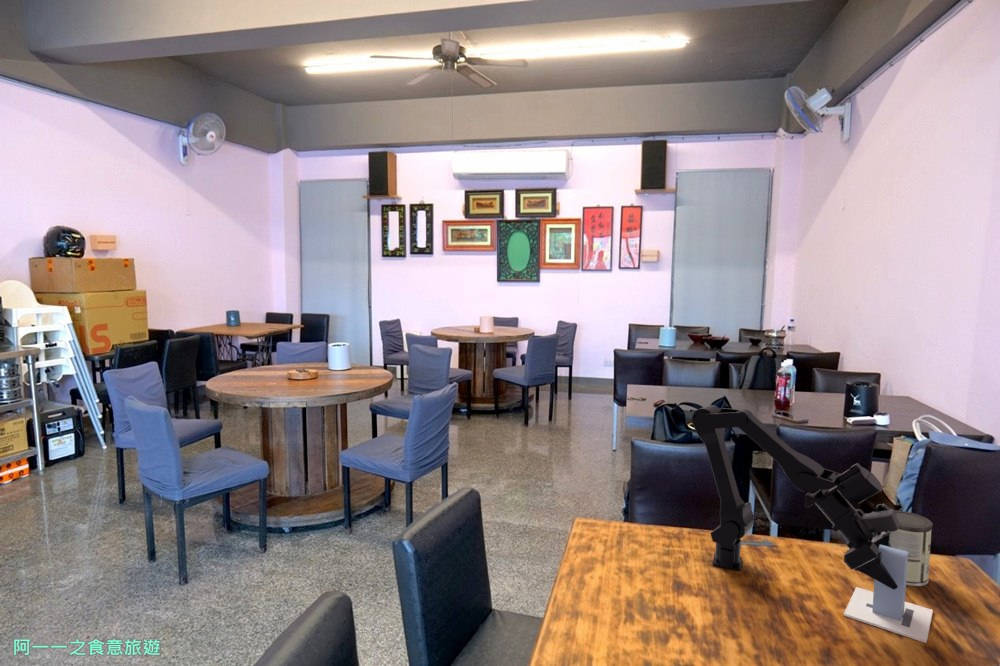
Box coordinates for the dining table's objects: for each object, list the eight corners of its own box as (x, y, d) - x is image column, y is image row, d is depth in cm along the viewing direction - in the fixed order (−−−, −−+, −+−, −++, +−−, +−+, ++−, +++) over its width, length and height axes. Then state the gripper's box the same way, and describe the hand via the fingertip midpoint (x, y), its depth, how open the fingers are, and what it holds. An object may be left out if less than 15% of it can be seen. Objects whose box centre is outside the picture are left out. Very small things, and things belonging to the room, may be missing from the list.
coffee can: (870, 562, 144) (874, 507, 143) (919, 568, 141) (923, 513, 139) (883, 582, 134) (887, 523, 133) (935, 590, 131) (940, 530, 130)
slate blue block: (872, 612, 121) (876, 552, 120) (876, 602, 125) (880, 544, 124) (901, 621, 118) (905, 560, 117) (904, 610, 122) (908, 551, 120)
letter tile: (843, 615, 121) (843, 613, 121) (856, 589, 131) (856, 586, 131) (926, 643, 112) (926, 640, 111) (932, 612, 122) (932, 609, 122)
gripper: (866, 508, 115) (931, 580, 108) (880, 483, 129) (938, 546, 123) (819, 534, 121) (878, 604, 114) (838, 508, 135) (892, 569, 128)
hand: (899, 579), depth 120 cm, fingers open, 9 cm apart
